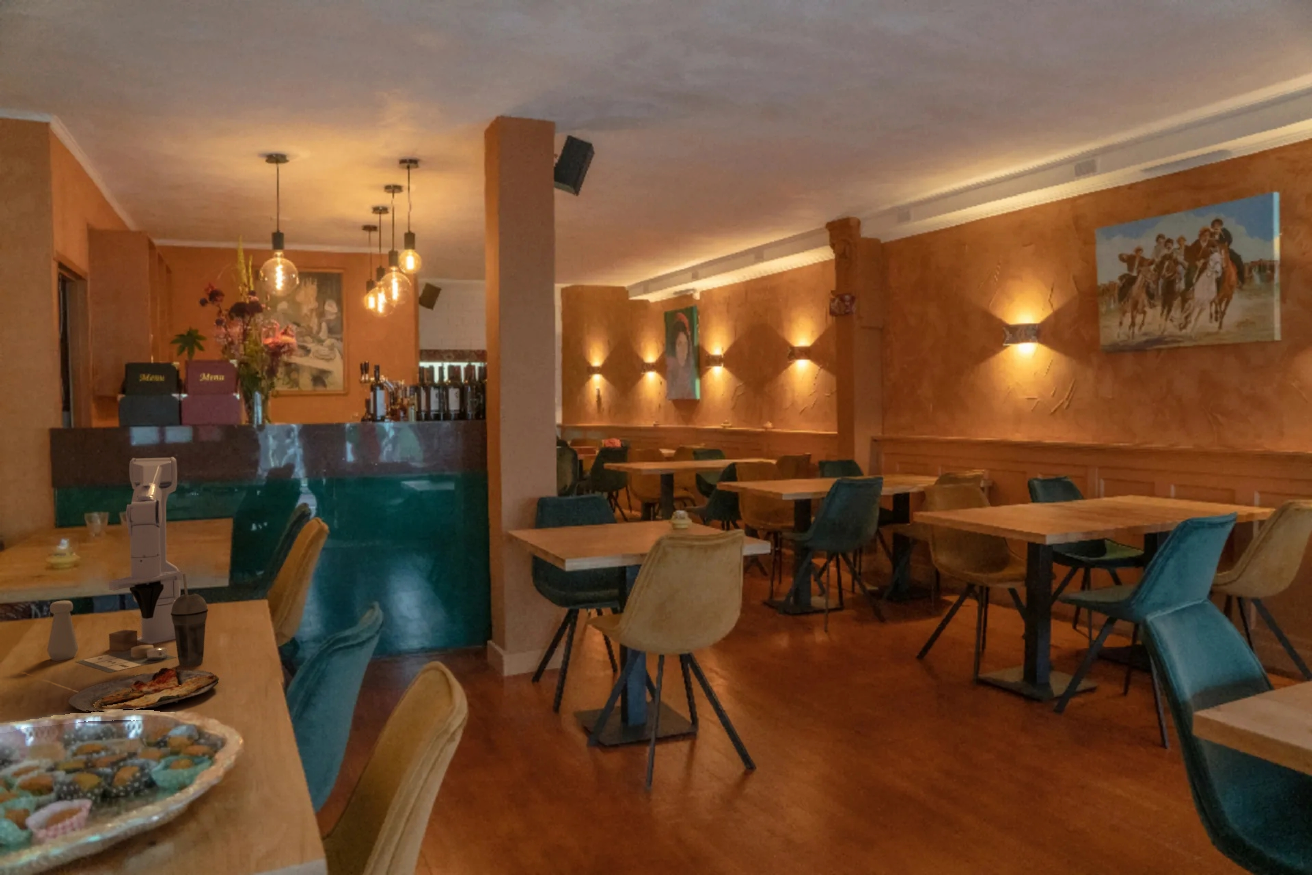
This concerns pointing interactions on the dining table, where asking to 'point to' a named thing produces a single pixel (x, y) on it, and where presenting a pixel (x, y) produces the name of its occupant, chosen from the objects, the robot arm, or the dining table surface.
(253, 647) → the dining table surface
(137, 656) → the beech disc
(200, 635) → the beverage cup
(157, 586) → the robot arm
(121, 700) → the food plate
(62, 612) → the salt shaker
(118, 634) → the walnut block
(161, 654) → the tealight tin
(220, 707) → the dining table surface
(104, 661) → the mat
